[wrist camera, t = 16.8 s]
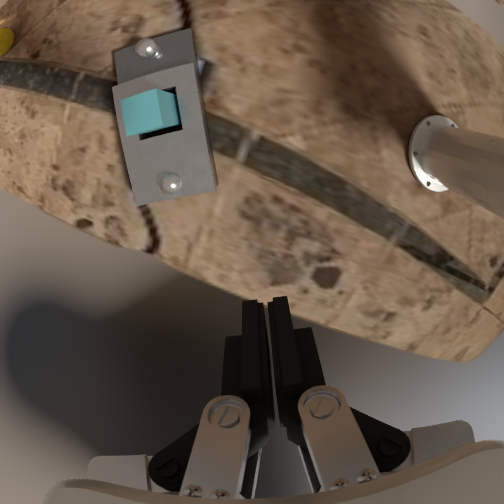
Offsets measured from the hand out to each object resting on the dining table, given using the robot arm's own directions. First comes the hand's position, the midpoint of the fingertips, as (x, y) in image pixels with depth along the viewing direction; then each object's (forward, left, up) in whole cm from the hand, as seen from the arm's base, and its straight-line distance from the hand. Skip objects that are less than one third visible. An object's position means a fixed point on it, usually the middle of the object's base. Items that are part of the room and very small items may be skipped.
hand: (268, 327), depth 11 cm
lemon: (+38, -37, -29) cm, 60 cm away
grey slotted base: (+10, -11, -29) cm, 32 cm away
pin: (+10, -11, -29) cm, 32 cm away
